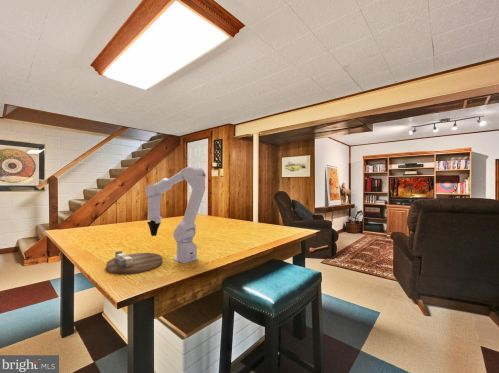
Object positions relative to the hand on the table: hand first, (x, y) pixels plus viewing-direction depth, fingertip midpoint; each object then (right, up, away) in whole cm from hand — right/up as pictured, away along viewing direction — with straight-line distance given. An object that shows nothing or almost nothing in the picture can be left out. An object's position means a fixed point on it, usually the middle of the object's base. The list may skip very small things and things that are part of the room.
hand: (153, 235), depth 119 cm
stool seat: (-2, -9, -16) cm, 18 cm away
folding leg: (-5, -7, -20) cm, 22 cm away
